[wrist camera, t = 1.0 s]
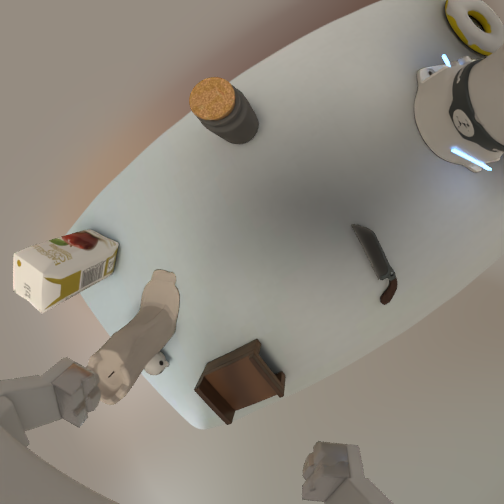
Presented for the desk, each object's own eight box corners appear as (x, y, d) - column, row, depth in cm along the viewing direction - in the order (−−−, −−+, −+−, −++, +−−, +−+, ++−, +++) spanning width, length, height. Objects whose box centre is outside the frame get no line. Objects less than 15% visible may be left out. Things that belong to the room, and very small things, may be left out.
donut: (508, 49, 28) (521, 42, 23) (478, 69, 31) (492, 62, 27) (463, -6, 27) (473, -17, 22) (428, 8, 30) (437, -4, 25)
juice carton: (116, 279, 49) (45, 321, 31) (82, 260, 50) (9, 292, 31) (124, 240, 47) (47, 271, 29) (88, 223, 48) (10, 245, 29)
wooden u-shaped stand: (257, 338, 48) (250, 365, 40) (285, 375, 49) (283, 404, 41) (206, 363, 50) (193, 389, 43) (235, 396, 51) (227, 425, 44)
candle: (185, 276, 47) (120, 333, 28) (173, 345, 50) (120, 416, 31) (146, 263, 47) (70, 308, 28) (138, 331, 51) (77, 392, 32)
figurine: (172, 369, 52) (163, 384, 47) (149, 362, 52) (138, 376, 48) (172, 348, 51) (162, 362, 46) (148, 341, 51) (136, 355, 46)
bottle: (213, 117, 41) (175, 88, 26) (249, 100, 39) (226, 62, 25) (228, 151, 42) (196, 135, 27) (265, 134, 40) (250, 109, 26)
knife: (402, 292, 42) (404, 294, 42) (381, 304, 43) (382, 306, 43) (366, 215, 41) (367, 215, 40) (343, 228, 42) (344, 229, 41)
